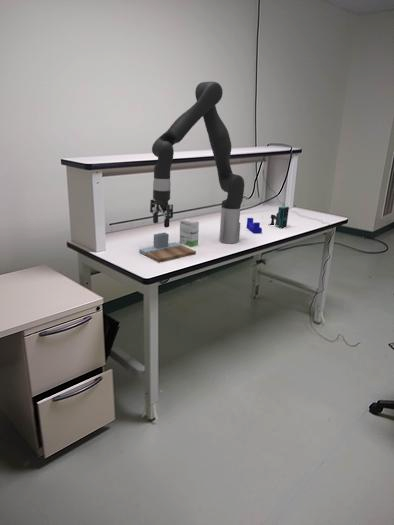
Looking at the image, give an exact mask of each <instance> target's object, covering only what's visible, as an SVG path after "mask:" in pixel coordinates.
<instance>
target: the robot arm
mask: <svg viewBox="0 0 394 525" xmlns="http://www.w3.org/2000/svg"><path fill="white" fill-rule="evenodd" d="M194 93H195V94H194V95H195V99H196V102H195V103H193V105H192V106H190V108H189V109H187V110H186V111H184V112H183V113H182V114H181V115H180V116H178V117H177V118H176V119H175V120H174V122H173V123H172V124H171V125H170V127H169V128H168V129H167V130H166V131H165V132H164V133H163V134H161V135H160V136H159V137H158V138H157V139H156V140H155V141H154V143H153V144H152V146H151V152H152V154H153V156H155V157H157V162H156V164H155V165H154V167H153V182H152V183H153V184H152V199H150V206H149V212H150V213H151V214H152V218H153V220H152V223H153V224H158V223H159V213H161V215H162V216H163V218H164V219H163V221H164V222H163V227H164V228H169V227H170V220H171V219H173V218H174V204H170V203H169V201H170V200H171V169H172V168H171V167H172V163H173V159H174V150H175V149H174V145H175V144H178V143H180V142H181V141H182V140H183V139H184V138H185V136H187V134H188V133H189V132H190V131H191V129H192V128H193V127H194V126H195V125H196V124H197V123H198V122H199V121H200V120H201V118H202V119H203V122H204V125H205V128H206V132H207V135H208V136H207V137H208V139H209V145H210V147H211V151H212V155H213V158H214V162H215V166H216V170H217V176H218V183H219V186H220V189H221V190H222V191H224V192H225V193H227V195H226V199H223V200H222V202H221V209H220V210H221V212H220V227H219V242H220V243H223V244H237V243H238V242H240V236H241V235H240V233H241V222H240V216H241V206H242V203H243V200H244V195H245V194H244V193H245V180H244V178H243V176H241V175H239V174H235V173H233V170H232V167H231V162H230V159H231V152H232V141H231V137H230V133H229V131H228V129H227V126H226V125H225V124H224V122H223V119H221V117H220V116H219V113H218V111H217V110H218V109H217V106H216V105H217V104H219V102H220V101H221V99H222V97H223V88H222V86H221V84H220V83H218V82H216V81H202V82H200V83H198V84H197V86H196V87H195V90H194Z"/></svg>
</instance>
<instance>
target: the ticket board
mask: <svg viewBox="0 0 394 525" xmlns="http://www.w3.org/2000/svg"><path fill="white" fill-rule="evenodd" d="M195 255H197V251H196V250H194V249H192V248H189V247H187V246H186V245H185V246H184V245H183V244H181V246H176V247H171V248H166V249H162V250H157V251H152V252H147V253H146V255H145V257H147V258H149V259H151V260H153V261H155V262H157V263H158V264H160V263H164V262H169V261H172V260H177V259H181V258H185V257H190V256H195Z"/></svg>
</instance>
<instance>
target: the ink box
mask: <svg viewBox="0 0 394 525" xmlns="http://www.w3.org/2000/svg"><path fill="white" fill-rule="evenodd" d="M199 226H200V222H199V221H198V220H194V219H189V218H182V219H180V220H179V244H181V245H183V246H184V245H185V246H188V247H192V248H193V247H195V246H198V245H199V232H200V231H199V228H200V227H199Z"/></svg>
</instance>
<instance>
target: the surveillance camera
mask: <svg viewBox="0 0 394 525" xmlns="http://www.w3.org/2000/svg"><path fill="white" fill-rule="evenodd" d="M289 211H290V207H289V206H286V207H285V206H279V207H278V212H277V213H276V215H275V214H271V215H270V219H271V222H270V223H269V224H270V225H274V224H275V226H278V228H280V229H285V228H284V227H286V226H287V225H288V217H289ZM269 224H267V225H268V226H270V225H269ZM286 228H287V227H286Z"/></svg>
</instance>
